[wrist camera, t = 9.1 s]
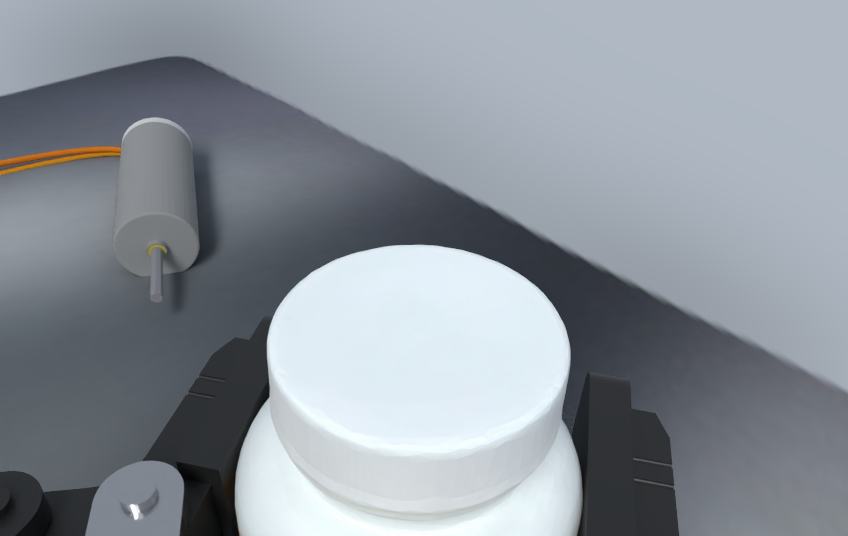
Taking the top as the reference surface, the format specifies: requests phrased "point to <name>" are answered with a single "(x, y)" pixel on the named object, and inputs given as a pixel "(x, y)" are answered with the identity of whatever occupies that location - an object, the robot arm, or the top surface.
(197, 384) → the robot arm
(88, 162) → the top surface
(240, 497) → the supplement bottle
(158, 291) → the motor
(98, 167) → the top surface
